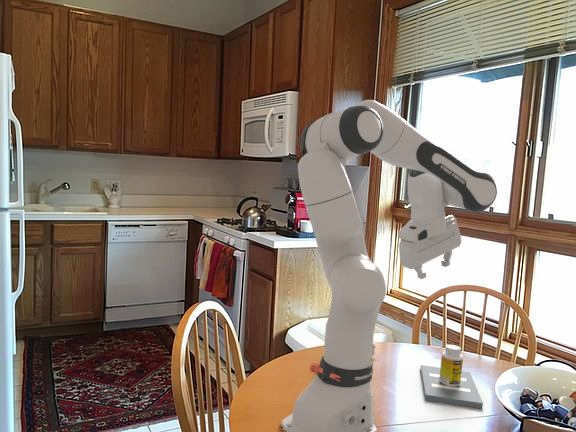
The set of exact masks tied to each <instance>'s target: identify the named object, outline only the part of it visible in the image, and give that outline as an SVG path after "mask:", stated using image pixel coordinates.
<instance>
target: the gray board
mask: <svg viewBox="0 0 576 432" xmlns="http://www.w3.org/2000/svg"><path fill="white" fill-rule="evenodd" d="M440 368H441V367H437V366H431V365H422V364H421V365H420V370H419V371H420V377H421V383H422V388H423V393H424V400H425V401H429V402H435V403H442V404H448V405H455V406H461V407H467V408H474V409H482V410H483V405H484V403H483V401H482V397H481V395H480V393H479V391H478V388H477V386H476V383H475V381H474V378H473V375H472V374H471V371H466V370H462V372H461V381H460V384H459V385H458V386H448V385H445V384H443V383H441V382H440V380H439V378H440Z"/></svg>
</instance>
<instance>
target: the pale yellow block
mask: <svg viewBox="0 0 576 432" xmlns="http://www.w3.org/2000/svg"><path fill="white" fill-rule="evenodd" d="M376 344H377V341H376V340H374V339H373V347H372V356H374V355H376V351H375V349H376V348H377V345H376Z"/></svg>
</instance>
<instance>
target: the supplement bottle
mask: <svg viewBox="0 0 576 432" xmlns="http://www.w3.org/2000/svg"><path fill="white" fill-rule="evenodd" d="M461 350H462V348H461V347H460V346H459V345H455V344H446V345H445V349H444V351H442V352H441V353H442V354H441V361H440V367H439V368H440V378H439V380H440V382H441V383H443V384H445V385H448V386H458V385H459V384H460V381H461V372H462V371H463V363H464V356H463V354H462V351H461Z"/></svg>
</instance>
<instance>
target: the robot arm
mask: <svg viewBox="0 0 576 432" xmlns="http://www.w3.org/2000/svg"><path fill="white" fill-rule="evenodd" d="M300 135H301V136H300V141H299V142H300V151H301V156H302V157H301V158H299V160H298V164H297V173H298V181H299V187H300V191H301V196H302V200H303V203H304V205H305V209H306V212H307V216H308V219H309V221H310V225H311V228H312V231H313V235H314V237H315V241H316V245H317V248H318V253H319V257H320V259H321V264H322V267H323V268H322V269H323V270H324V275H325V278H326V280H327V283H328V285H329V287H330V289H331V302H330V308H329V312H328V317H327V321H326V323H325V333H324V344H323V345H324V346H323V348H324V349H323V355H322V356H321V360H320V362H319V364H317V363H315V362H312V363H311V364H310V365H309V371H310V372H311V373H314V374H316V376H315V377H314V378H313V379H312V381H311V382H310V383H309V384H308V385H307V386H306V387H305V389H304V390H303V391H302V392H301V393H300V394H299V395H298V397H297V398H296V400H295V402H294V405H293V412H292V413H291V414H289V415H287V416H286V417H285V418H284V419H282V420H281V424H282V426H281V428H282V427H283V428H284V430H285V431H286V432H378V428H377V427H376V425H375V424H374V423H375V418H374V417H375V413H374V411H375V410H374V406H375V403H374V402H375V400H374V397H375V396H374V393H373V390H372V385H371V381H372V379H373V374H374V367H373V365H374V364H373V361H372V358H373V357H372V356H373V355H372V347H373V340H374V335H375V334H374V333H375V329H376V325H377V320H378V317H379V313H380V310H381V305H382V303H383V302H384V300H385V297H386V293H387V288H386V287H387V286H386V281H385V276H384V275H383V273H382V271H381V269H380V268H379V267H378V266H377V265H376V264H374V263H373V262H372V261H371V259H370V257H369V255H368V251H367V250H368V249H367V246H366V241H365V234H364V230H363V229H364V227H363V225H364V224H363V221H362V218H361V214H360V211H359V208H358V205H357V200H356V198H355V195H354V192H353V187H352V186H351V182H350V179H349V178H348V174H347V171H346V164H347V160H349V159H353V158H355V157H358V156H361V155H365V154H369V152H370V153H371V154H372V155H374V156H375V157H376V158H378V159H379V160H381V161H383V162H385V163H387V164H389V165H392V166H394V167H398V168H402V169H409V170H410V171H409V172H408V176H407V196H408V202H409V205H410V208H411V212H410V220H408V222H407V223H406V224H405V225H404V226H403V227H402V228H400V229H399V231H398V233H397V236H398V238H399V239H401V240H400V242H399V244H398V245H399V247H398V249H399V260H400V264H401V266H403V268H406V269H409V270H414V271H415V272H416V275H417V278H418V279H420V280H423V279H425V278H427V271H424V270H423V265H424V264H426V263H428V262H430V261H433V260H434V259H436V258H438V257H440V256H442V255H443V257H442V259H441V260H440V262H441V266H442V267H445V268H446V267H449V266H450V265H451V258H452V255H453V250H455V249H456V248H459V247H461V244H462V236H461V231H460V227H459V224H458V222H457V220H458V219H457V218H456V216H454V215H452V214H451V215H448V216H446V211H445V207H448V206H451V207H456V208H460V209H464V210H467V211H470V212H473V213H477V214H478V213H482V212H484V211H486V210H487V209H489V207H491V206H492V205H493V203H494V202H495V200H496V198H497V195H498V193H497V192H498V190H497V189H498V188H497V184H496V182H495V179H494V178H493V176H492V175H490V174H489V173H487V172H481V171H480V172H478V171H475V170H474V169H472V168H470V167H469V166H468V165H466V164H465V163H464V162H462V161H460V160H459V159H458V158H456V156H454V155H452V154H451V153H449V152H448V151H446V150H445V149H444V148H442V147H440V146H439V145H437V144H436V143H435V142H433V141H432V140H431V139H430V138H428V137H426V136H425V135H423V134H422V132H420V131H418V130H417V129H416V128H415V127H414V126H413V125H411V124H410V123H409V122H407V121H406V120H405V119H404V118H402V116H401V115H399V114H397V113H396V112H395V111H394V110H392V109H390V108H389V107H387V106H385V105H384V104H381V103H380V102H378V101H376V100H374V99H364V100H362V101H360V102H359V103H357V104H356V105H354V106H349V107H348V108H346V109H342V110H337V111H333V112H330V113H327V114H325V115H324V116H322V117H320V118H318V119H315V120H313V121H311V122H310V123H309V124H307V125H306V126H305V127H304V129H303V130H302V132H301V134H300ZM281 424H280V425H281ZM288 427H290V428H288ZM283 428H282V429H283ZM284 430H283V431H284ZM285 431H284V432H285Z"/></svg>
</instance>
